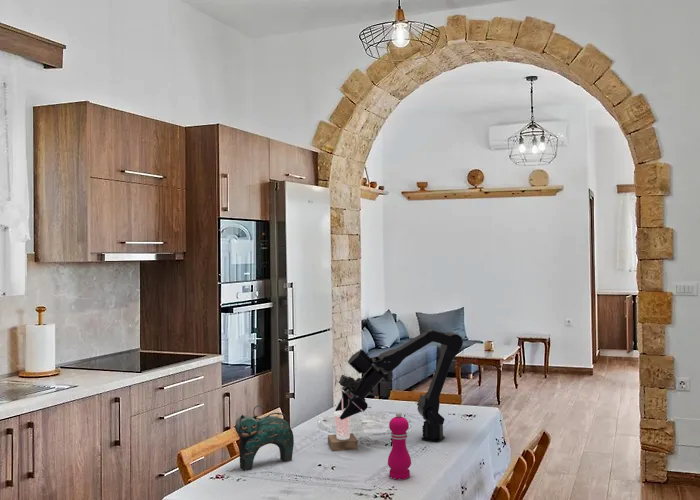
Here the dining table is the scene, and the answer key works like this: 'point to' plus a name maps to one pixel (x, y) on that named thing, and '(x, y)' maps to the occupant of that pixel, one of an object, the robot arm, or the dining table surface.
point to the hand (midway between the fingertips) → (338, 415)
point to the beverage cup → (342, 425)
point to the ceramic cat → (263, 437)
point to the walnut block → (342, 443)
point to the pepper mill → (399, 448)
